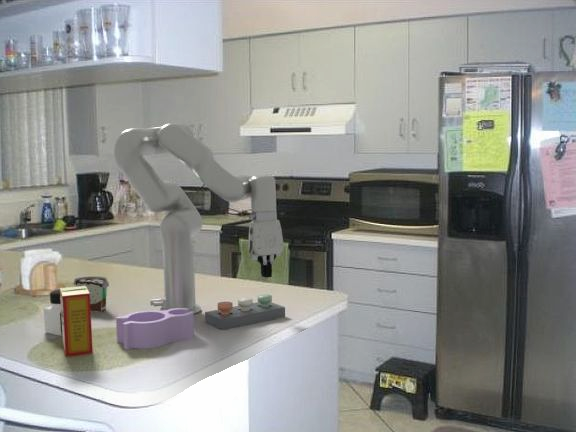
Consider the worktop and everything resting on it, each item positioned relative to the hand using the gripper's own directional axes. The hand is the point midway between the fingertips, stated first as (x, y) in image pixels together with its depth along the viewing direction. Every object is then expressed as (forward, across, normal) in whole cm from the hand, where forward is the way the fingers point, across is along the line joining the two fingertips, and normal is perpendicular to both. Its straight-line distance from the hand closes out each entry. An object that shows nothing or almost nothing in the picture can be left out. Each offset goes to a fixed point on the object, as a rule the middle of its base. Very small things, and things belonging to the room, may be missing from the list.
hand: (266, 276), depth 200 cm
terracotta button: (+10, -15, +1) cm, 18 cm away
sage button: (+11, -1, +1) cm, 11 cm away
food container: (+11, -39, +41) cm, 57 cm away
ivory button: (+10, -8, +1) cm, 13 cm away
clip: (+12, -37, -1) cm, 39 cm away
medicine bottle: (+11, -55, +22) cm, 61 cm away
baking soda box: (+11, -57, +4) cm, 59 cm away
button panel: (+12, -8, +1) cm, 14 cm away
